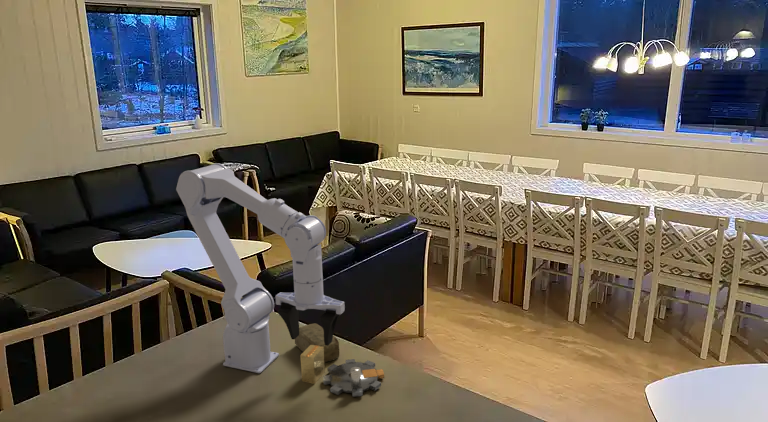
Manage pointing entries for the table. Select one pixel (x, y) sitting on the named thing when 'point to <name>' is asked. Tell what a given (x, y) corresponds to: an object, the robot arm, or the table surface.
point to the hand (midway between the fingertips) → (311, 340)
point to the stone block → (317, 341)
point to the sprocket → (353, 377)
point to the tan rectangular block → (312, 364)
